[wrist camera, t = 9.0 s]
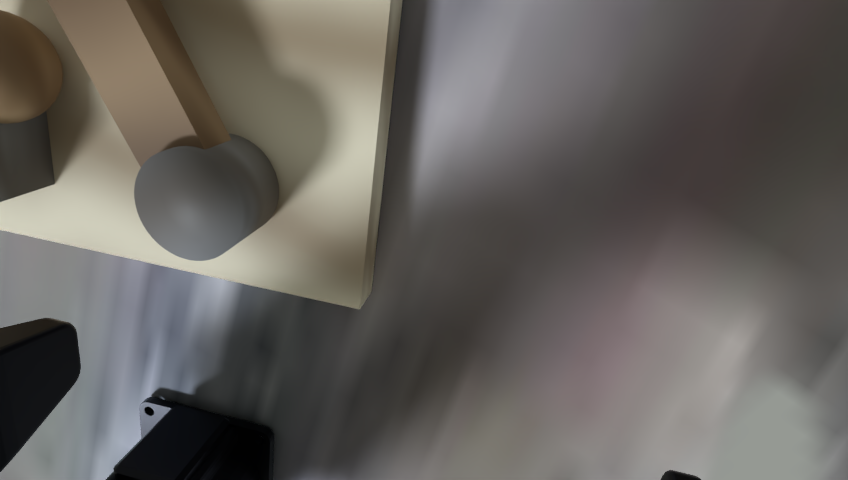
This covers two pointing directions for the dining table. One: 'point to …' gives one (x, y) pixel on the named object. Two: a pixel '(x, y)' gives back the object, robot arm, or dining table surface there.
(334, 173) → the nutcracker base
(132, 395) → the dining table surface
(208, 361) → the dining table surface
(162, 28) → the lever
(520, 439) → the dining table surface
